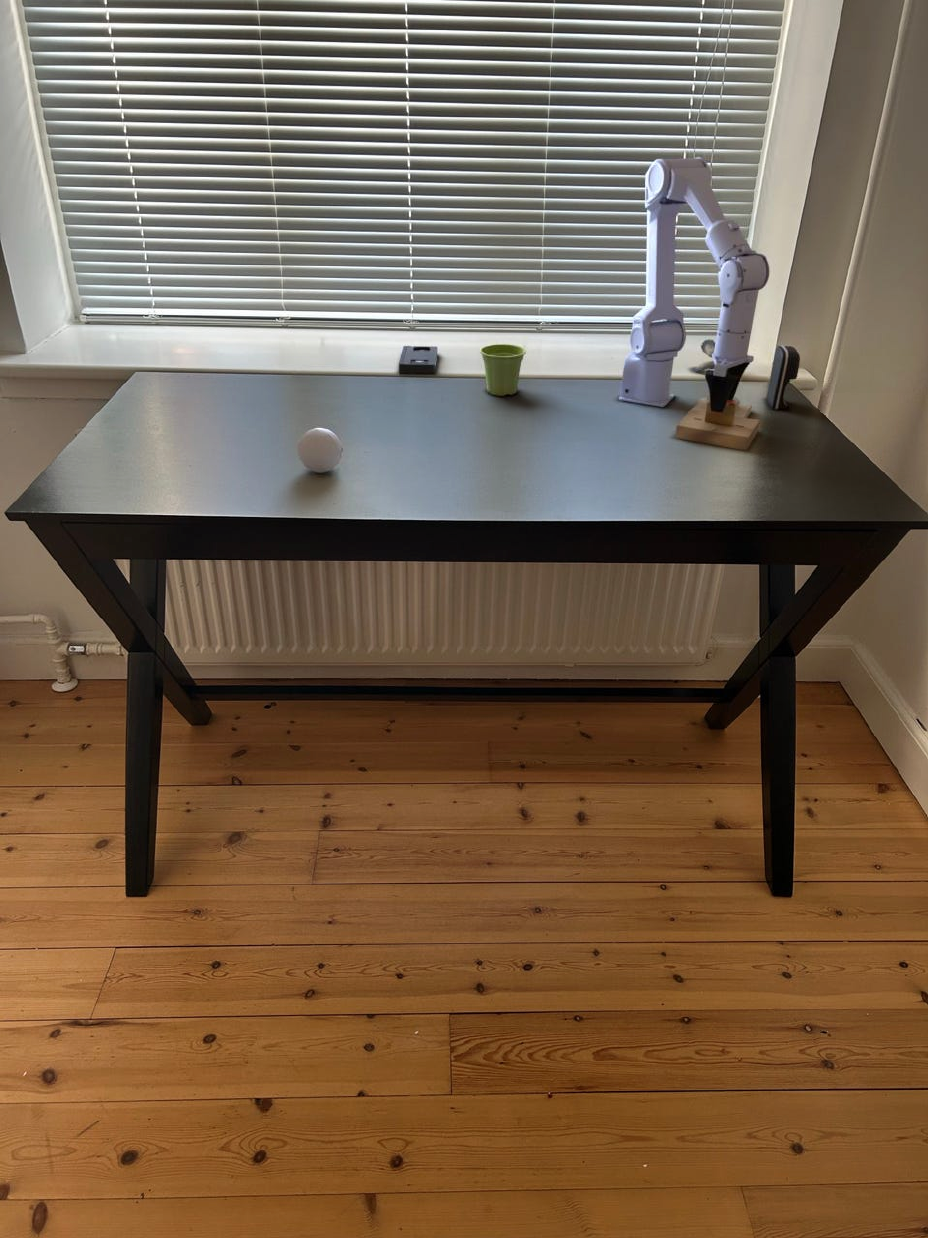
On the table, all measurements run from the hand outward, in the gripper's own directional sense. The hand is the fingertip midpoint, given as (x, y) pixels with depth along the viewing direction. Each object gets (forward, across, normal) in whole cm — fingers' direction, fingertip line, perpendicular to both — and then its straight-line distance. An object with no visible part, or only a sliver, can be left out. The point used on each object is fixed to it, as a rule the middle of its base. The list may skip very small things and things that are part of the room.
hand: (721, 405), depth 161 cm
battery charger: (+6, +23, -7) cm, 25 cm away
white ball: (+6, -47, +56) cm, 73 cm away
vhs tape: (+6, +13, +71) cm, 72 cm away
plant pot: (+6, +4, +46) cm, 47 cm away
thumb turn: (+3, 0, 0) cm, 3 cm away
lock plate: (+6, 0, 0) cm, 6 cm away
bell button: (+3, +12, +2) cm, 13 cm away
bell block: (+6, +12, +2) cm, 13 cm away
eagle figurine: (+6, +39, +10) cm, 41 cm away
